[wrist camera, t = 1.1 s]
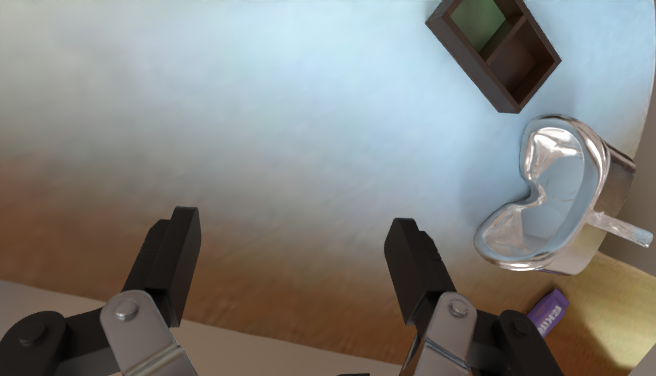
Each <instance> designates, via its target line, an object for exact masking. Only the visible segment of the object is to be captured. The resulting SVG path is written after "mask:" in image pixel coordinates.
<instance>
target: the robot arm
mask: <svg viewBox="0 0 656 376" xmlns="http://www.w3.org/2000/svg"><path fill="white" fill-rule="evenodd" d="M200 246H201V228H200V220H199V211H198V208H197V207H181V206H177V207H176V208H175V210H174V212H173V215H172V217H171V220H165V219H160V220H159V221H158V222H157V223H156V224H155V225H154V226H153V227H151V228H150V230H149V232H148V234H147V236H146V238H145V242H144V243H143V245H142V247H141V250H140V253H139V254H138V256H137V258H136V261H135V263H134V265H133V267H132V270H131V272H130V274H129V276H128V278H127V281H126V283H125V285H124V287H123V289H122V291H121V292H120V293H119V294H118V295H116V296H114V297H113V298H111V299H110V300H109V301H108V302H107V303H106V304H105V305H104V306H103V307H101V308H99V309H96V310H93V311H90V312H86V313H82V314H78V315H75V316H71V317H68V318H64V317H63V316H62V315H61V314H60V313H58V312H55V311H42V312H38V313H34V314H31V315H29V316H27V317H25V318H23V319H22V320H20V321H19V322H17V323H16V324H14V325H13V326H12V327H11V328H10V329H9V330H8V331H7V333H6V334H5V335H4V337H3V338H2V340H1V342H0V376H108V375H111V374H114V373H117V372H120V371H121V373H122V375H123V376H198V374H197V373H196V371H195V369H194V367H193V366H192V364H191V362H190V360H189V358H188V357H187V355H186V353H185V351H184V350H183V348H182V347H181V346H180V345H178V344H177V342H176V341H175V339H174V337H173V335H172V333H171V332H170V330H169V328H170V327H179V326H180V322H181V318H182V315H183V311H184V307H185V303H186V300H187V296H188V292H189V288H190V285H191V281H192V277H193V273H194V270H195V266H196V262H197V258H198V255H199V251H200ZM384 254H385V258H386V261H387V265H388V268H389V271H390V275H391V278H392V281H393V285H394V288H395V292H396V295H397V298H398V302H399V305H400V308H401V312H402V315H403V319H404V322H405V325H415V326H416V329H417V333H416V335H415V337H414V339H413V342H412V344H411V347H410V349H409V352H408V354H407V357H406V359H405V362H404V364H403V366H402V369H401V372H400V374H399V376H470V368H471V371H472V374H473V376H564V375H563V373H562V371H561V369H560V368H559V366H558V364H557V362H556V361H555V359H554V357H553V355H552V354H551V352H550V350H549V348H548V346H547V345H546V343H545V341H544V339H543V338H542V336H541V334H540V332H539V331H538V329H537V327H536V326H535V324H534V323H533V322H532V321H531V320H530V319H529V318H528V317H526V316H525V315H524V314H522V313H520V312H517V311H514V310H505V311H503V312H502V313H501V314H500V315H499V316H497V315H493V314H490V313H487V312H484V311H480V310H478V309H475V307H474V306H473V304H472V303H471V302H470V301H469V300H468V299H467V298H466V297H464V296H463V295H461V294H459V293H457V291H456V289H455V287H454V285H453V282H452V280H451V278H450V276H449V274H448V272H447V269H446V267H445V265H444V263H443V261H441V257H440V254H439V253H438V250H437V248H436V246H435V244H434V241H433V240H432V239H431V238H430V237H429V236H428V234H427V233H426V232H425V231H419V229H418V227H417V224H416V222H415V220H414V219H412V218H395V219H394V220H393V223H392V225H391V228H390V230H389V233H388V235H387V238H386V240H385V244H384ZM467 365H468V366H467ZM469 366H470V367H469ZM338 376H370V374H369V373H364V374H341V375H338Z"/></svg>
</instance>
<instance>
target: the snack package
mask: <svg viewBox="0 0 656 376" xmlns="http://www.w3.org/2000/svg"><path fill="white" fill-rule="evenodd" d="M568 305H569V301H568V300H567V299H566V298H565V297H564V296H563V295H562V294H561V293H560V292H559V290H558V289H557V288H556V289H555V290H554V291H553V292H552V293H551V294H548V295H546V296H545V297H543V298H542V299H541V300H540V301H539V302H538V303H537V304H536V305H535V307H534V308H533V309H532V310H531V311H530V312H529V313H528V314H527V315H526V317H528V318H529V319H530V320H531V321H532V322H533V323H534V324H535V326H536V327H537V329H538V331H539V332H540V334H541V336H542V338H544V337H545V336H546V335H547V334H548V333H549V331H550V330H551V329H552V328H553V327H554V326H555V325H556V324H557V323H558V322H559V321H560V319H561V318H562V317H563V315H564V314H565V311H566V307H567V306H568Z"/></svg>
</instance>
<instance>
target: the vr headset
mask: <svg viewBox="0 0 656 376" xmlns="http://www.w3.org/2000/svg"><path fill="white" fill-rule="evenodd" d="M519 166H520V172H521V176H522V177H523V179H524V180H525V181H526V182H527V183H528V184H529V187H530V190H531V193H530V196H529V197H528V198H527V199H526V200H524V201H522V202H517V203H508V204H506V205H504V206H503V207H501V208H499V209H498V210H497V211H495V212H494V213H493V214H492V215H491V216H490V217H489V218H488V219H487V220H486V221H485V222H484V223H483V224H482V226H481V227H480V228H479V229H478V230H477V232H476V233H475V235H474V237H473V245H474V248H475V250H476V251H477V253H478V254H479V255H480V256H481V257H482V258H483V259H485V260H486V261H488V262H490V263H492V264H494V265H496V266H499V267H502V268H505V269H510V270H518V271H524V270H533V271H541V272H547V273H552V274H558V275H563V276H571V275H575V274H578V273H579V272H581V271H582V270H583V269H584V268H585V267H586V266H587V265H588V263H589V262H590V260H591V259H592V257H593V256H594V254H595V253H596V251H597V249H598V248H599V246H600V244H601V242H602V241H603V239H604V237H605V235H606V234H607V232H608V231H609V232H612V233H614V234H616V235H618V236H621V237H623V238H625V239H628V240H630V241H632V242H635V243H637V244H639V245H641V246H643V247H646V248H648V247H649V245H650V243H651V242H652V240H653V235H654V234H653V233H652V232H649V231H647V230H644V229H641V228H639V227H636V226H634V225H631V224H629V223H626V222H624V221H621V220H618V219H616V218H615V217H616V216H617V214H618V212H619V210H620V208H621V206H622V204H623V203H624V200H625V199H626V197H627V195H628V192H629V190H630V188H631V186H632V183H633V181H634V178H635V174H636V167H635V164H634V162H633V161H632V159H631V158H629V157H628V156H627V155H625V154H623V153H622V152H620V151H619V150H617V149H616V148H614V147H613V146H611V145H610V144H608V143H607V142H606V141H604V140H603V139H602V138H601V137H599V136H598V135H597V134H596V133H595V132H594V131H593V130H592V129H591V128H590V127H589V126H588V125H586V124H585V123H583V122H581V121H579V120H577V119H574V118H572V117H569V116H566V115H562V114H545V115H540V116H538V117H536V118H534V119H532V120H531V121H530V122H529V123H528V124H527V126H526V127H525V130H524V133H523V138H522V143H521V148H520V155H519Z"/></svg>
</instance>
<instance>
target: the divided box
mask: <svg viewBox="0 0 656 376" xmlns="http://www.w3.org/2000/svg"><path fill="white" fill-rule="evenodd" d="M425 24H426V25H427V26H428V28H429V29H430V30H431V31H432V32H433V34H434V35H435V36H436V37H437V38H438V40H439V41H440V42H441V43H442V44H443V46H444V47H445V48H446V49H447V51H448V52H449V53H450V54H451V55H452V57H453V58H454V59H455V60H456V61H457V63H458V64H459V65H460V66H461V67H462V69H463V70H464V71H465V72H466V74H467V75H468V76H469V77H470V78H471V80H472V81H473V82H474V83H475V84H476V86H477V87H478V88H479V89H480V90H481V92H482V93H483V94H484V95H485V96H486V98H487V99H488V100H489V101H490V103H491V104H492V105H493V106H494V107H495V109H496V110H497V111H498V112H499V113H514V114H519V113H520V111H521V110H522V109H523V108H524V106H525V105H526V104H527V103H528V102H529V100H530V99H531V98H532V97H533V95H534V94H535V93H536V92H537V91H538V89H539V88H540V87H541V86H542V84H543V83H544V82H545V81H546V80H547V78H548V77H549V76H550V75H551V73H552V72H553V71H554V70H555V69H556V67H557V66H558V65H559V64H560V63H561V61H562V60H561V58H560V57H559V55H558V54H557V52H556V51H555V49H554V48H553V46H552V45H551V43H550V42H549V40H548V39H547V37H546V35H545V34H544V32H543V31H542V29H541V28H540V26H539V25H538V23H537V22H536V20H535V19H534V17H533V16H532V14H531V13H530V11H529V9H528V8H527V6H526V5H525V3H524V2H523V0H443V1H442V2H441V3H440V5H439V6H438V7H437V9H436V10H435V11H434V12H433V14H432V15H431V16H430V17H429V19H428V20H427V21H426V22H425Z"/></svg>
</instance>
